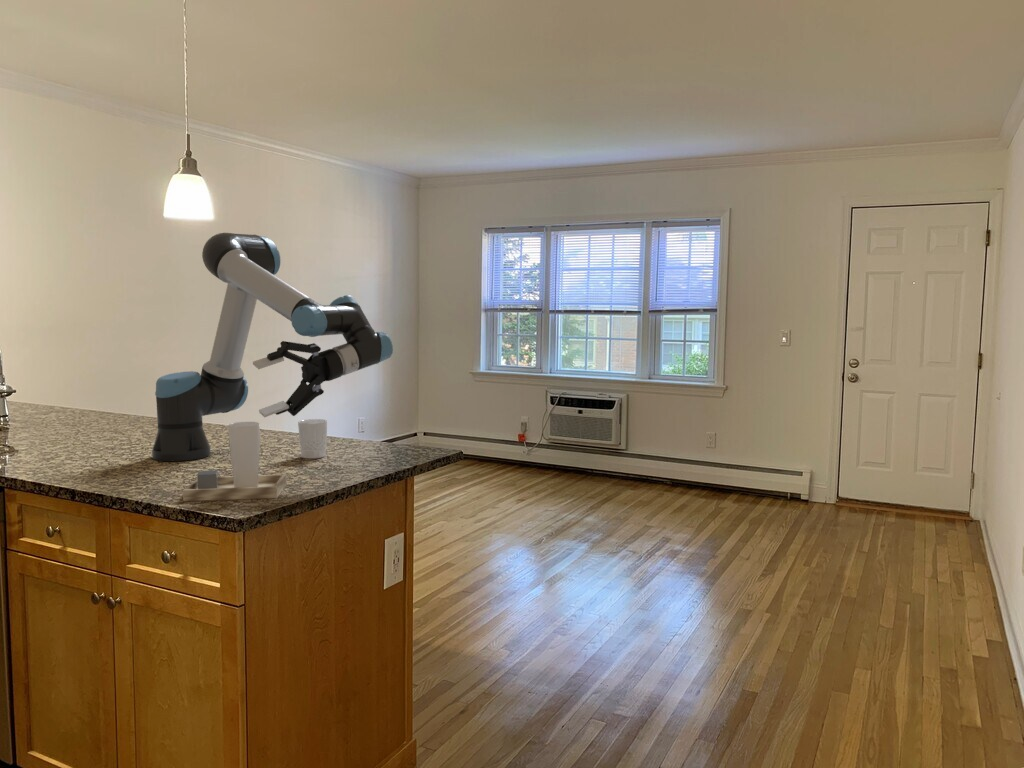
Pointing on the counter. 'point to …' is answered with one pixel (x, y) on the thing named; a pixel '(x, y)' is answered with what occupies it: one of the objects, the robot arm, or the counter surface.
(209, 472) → the cube
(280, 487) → the tray
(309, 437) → the white cup
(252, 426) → the drinking glass
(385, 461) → the counter surface
